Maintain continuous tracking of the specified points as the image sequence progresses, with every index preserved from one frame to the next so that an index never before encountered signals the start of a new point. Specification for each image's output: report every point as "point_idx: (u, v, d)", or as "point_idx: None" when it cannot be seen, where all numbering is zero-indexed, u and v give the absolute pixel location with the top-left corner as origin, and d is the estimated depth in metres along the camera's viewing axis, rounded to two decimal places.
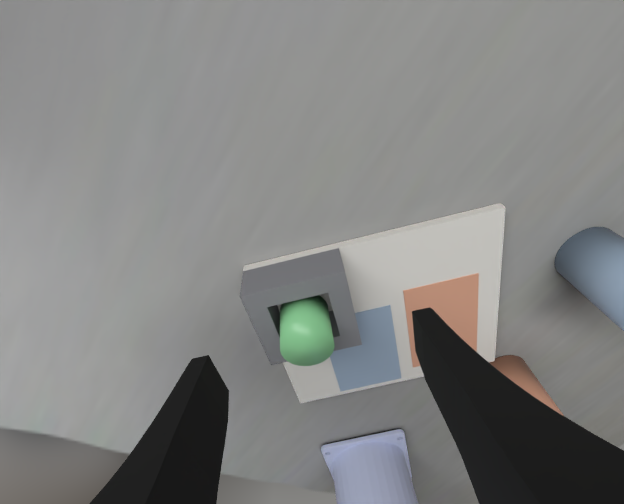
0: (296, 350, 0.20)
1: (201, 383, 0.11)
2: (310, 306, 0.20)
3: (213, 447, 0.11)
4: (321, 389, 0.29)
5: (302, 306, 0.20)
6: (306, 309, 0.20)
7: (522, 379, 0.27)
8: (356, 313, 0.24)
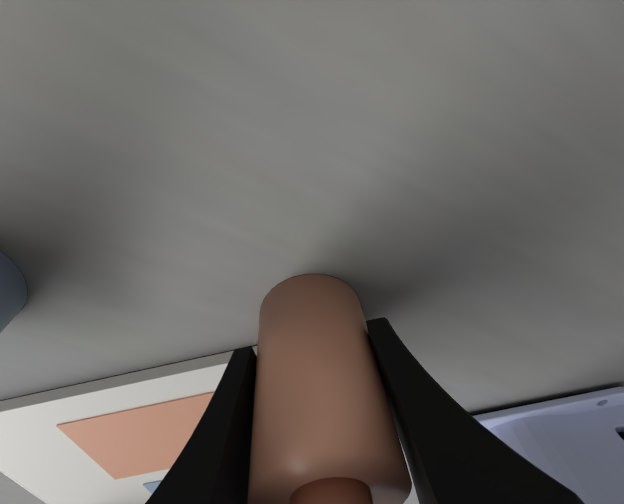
0: None
1: (248, 373, 0.11)
2: None
3: None
4: None
5: None
6: None
7: None
8: None
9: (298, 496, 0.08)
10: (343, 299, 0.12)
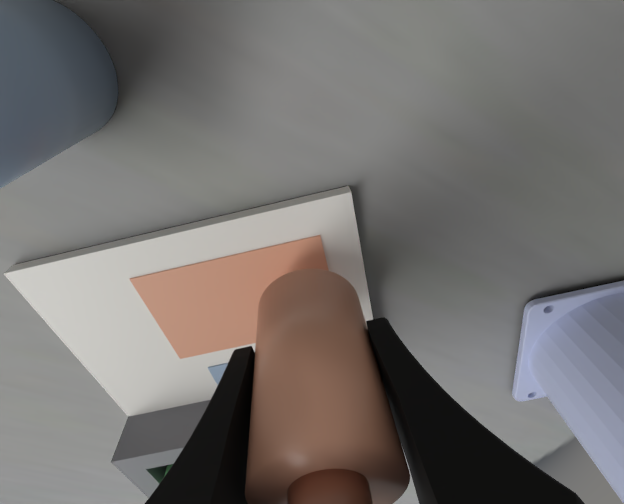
0: None
1: (248, 373, 0.11)
2: None
3: None
4: None
5: None
6: None
7: None
8: None
9: (297, 487, 0.08)
10: (344, 294, 0.12)
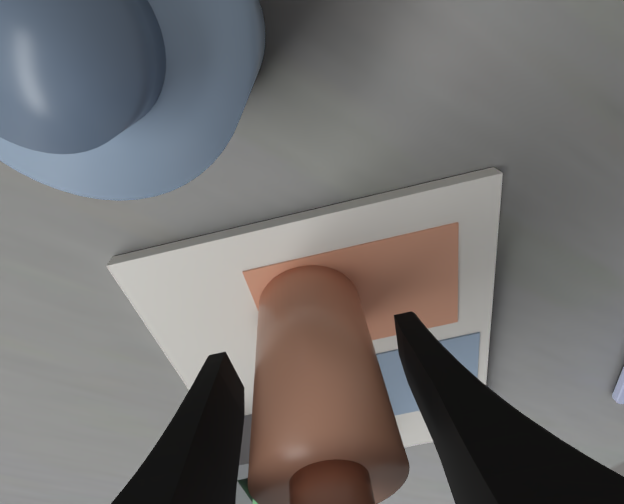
0: None
1: (219, 379, 0.11)
2: None
3: (231, 443, 0.11)
4: None
5: None
6: None
7: None
8: None
9: (299, 477, 0.08)
10: (343, 291, 0.13)
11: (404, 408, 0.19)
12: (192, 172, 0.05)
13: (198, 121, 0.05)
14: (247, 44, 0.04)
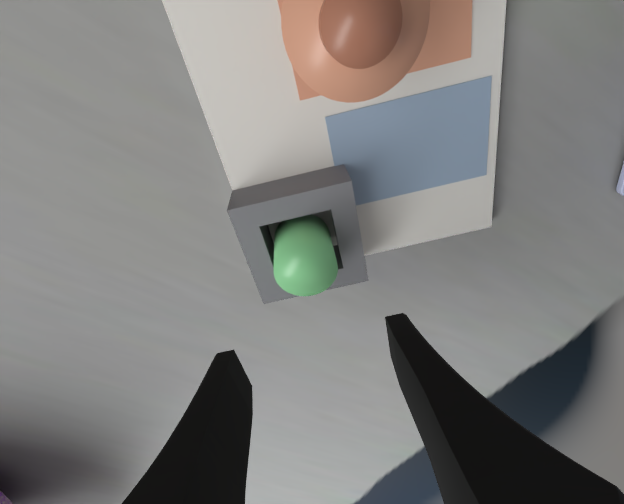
0: (309, 281, 0.17)
1: (229, 377, 0.11)
2: (274, 246, 0.18)
3: (240, 441, 0.11)
4: (472, 200, 0.20)
5: None
6: None
7: None
8: (334, 163, 0.18)
9: None
10: None
11: (417, 183, 0.19)
12: None
13: None
14: None
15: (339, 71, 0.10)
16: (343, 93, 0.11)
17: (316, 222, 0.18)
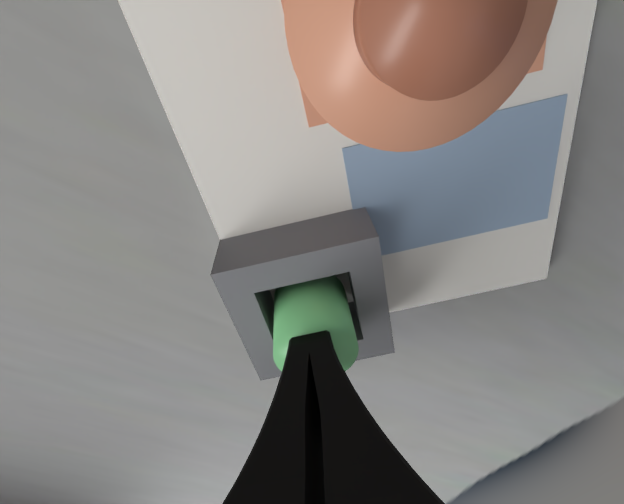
0: None
1: (310, 360, 0.11)
2: (274, 314, 0.14)
3: None
4: (526, 249, 0.16)
5: None
6: None
7: None
8: (352, 205, 0.14)
9: None
10: None
11: (458, 229, 0.15)
12: None
13: None
14: None
15: (387, 102, 0.06)
16: (393, 137, 0.06)
17: (329, 283, 0.14)
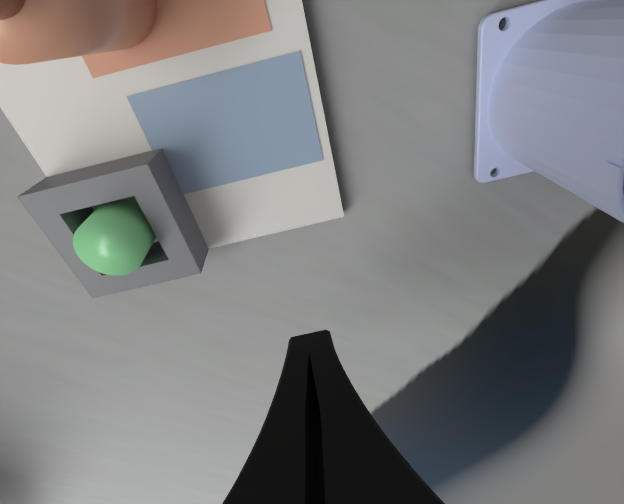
0: (116, 259, 0.17)
1: (310, 360, 0.11)
2: None
3: None
4: (316, 188, 0.19)
5: None
6: None
7: None
8: (151, 147, 0.17)
9: None
10: None
11: (249, 169, 0.18)
12: None
13: None
14: None
15: None
16: (9, 54, 0.09)
17: (133, 201, 0.18)
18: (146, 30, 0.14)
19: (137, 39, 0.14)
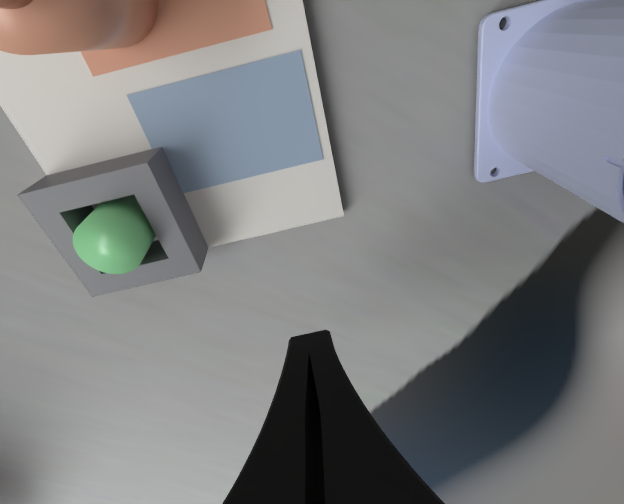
0: (115, 258, 0.17)
1: (310, 360, 0.11)
2: None
3: None
4: (316, 187, 0.19)
5: None
6: None
7: None
8: (151, 145, 0.17)
9: None
10: None
11: (249, 168, 0.18)
12: None
13: None
14: None
15: (4, 19, 0.09)
16: (24, 44, 0.09)
17: (133, 199, 0.18)
18: (149, 26, 0.14)
19: (140, 35, 0.14)
